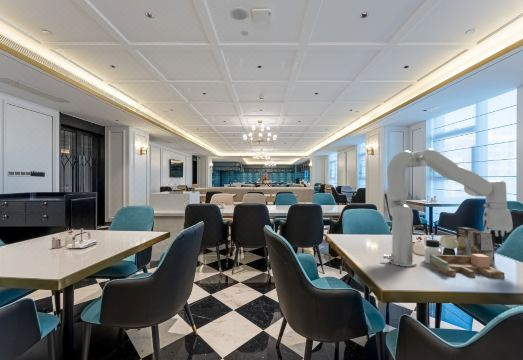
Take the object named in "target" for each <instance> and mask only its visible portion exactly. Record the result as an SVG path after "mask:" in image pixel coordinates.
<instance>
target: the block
mask: <svg viewBox="0 0 523 360" xmlns="http://www.w3.org/2000/svg"><path fill="white" fill-rule="evenodd" d="M471 264H472V265H475V266H477V267H491V266H490V265H491V264H490V257H488V256H486V255H483V254H471Z"/></svg>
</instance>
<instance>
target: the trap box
mask: <svg viewBox="0 0 523 360" xmlns="http://www.w3.org/2000/svg"><path fill="white" fill-rule="evenodd" d="M429 267H430V268H433V270H436V271H438V272H439V273H440V274H442V275H444V276H445V277H456V275H457V273H462V274H464V275H465V276H468V277H470V278H475V277H476V274H481V275H483V276H485V277H487V278H490V279H505V272H504V271H501V270H499V269H496V268H494V267H491V266H490V267H477V266H475V265H472V264H471V256H464V255H460V254H459V255H457V254H456V255H443V254H441V255H430V263H429Z"/></svg>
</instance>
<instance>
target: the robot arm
mask: <svg viewBox="0 0 523 360" xmlns="http://www.w3.org/2000/svg"><path fill="white" fill-rule="evenodd" d="M425 166H427V167H428V168H429V169H431V170H433V171H434V172H435V173H437V174H438V175H439V176H441V177H443V178H444V179H446V180H450V181H453V182H456V183H458V184H461V185H462V186H463V191H464V192H465V193H466V194H467V195H469V196H473V197H485V203H484V204H483V208H484V211H483V216H482V217H483V219H482V220H483V223H482V224H483V228H484V229H483V230H484V232H488V233H491V235H493V242H494V245H496V246H497V245H498V246H500V245H501V246H502V245H503V240H504V239H503V237H505V234H506V233H507V234H508V233H510V232H512V230H513V228H514V227H513V226H514V225H513V224H514V223H513V219H512V218H513V217H512V214H511V211H510V209H508V202H507V201H508V198H507V183H506V181H504V180H487V179H485V178H484V177H482V176H481V175H480V174H478V173H476V172H474V171H472V170H469V169H467V168H465V167H464V166H461V165H459V164H457V163H456V162H454V161H453V160H451V159H449V158H448V157H446V156H445V155H443V154H442V153H440V152H438V150H436V149H433V148H426V149H423V150H421V151H420V150H419V151H413V152H412V151H410V150H402V151H400V152H398V153H396V155H394V156H393V158H392V159H391V160H390V162H389V163H388V166H387V173H386V175H387V183H388V187H387V189H386V201H387V205H388V206H387V207H388V211H389V215H390V216H391V217H392V218H391V221H392V223H391V237H392V238H391V240H392V241H391V246H392V247H391V249H392V251H391V253H390V254H383V255H382V258H383V259H387V260H389V263H390V262H391V263H390V264H392V265H394V264H395V266H398V265H400V267H405V266H406V267H407V268H410V267H416V266H417V261H415V260H414V257H413V256H414V254H413V221H414V212H413V209H412V208H411V207H410V206H409V205H408V204H407V198H408V196H409V190H408V186H407V185H408V184H407V180H406V169H407V168H418V167H425Z"/></svg>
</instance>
